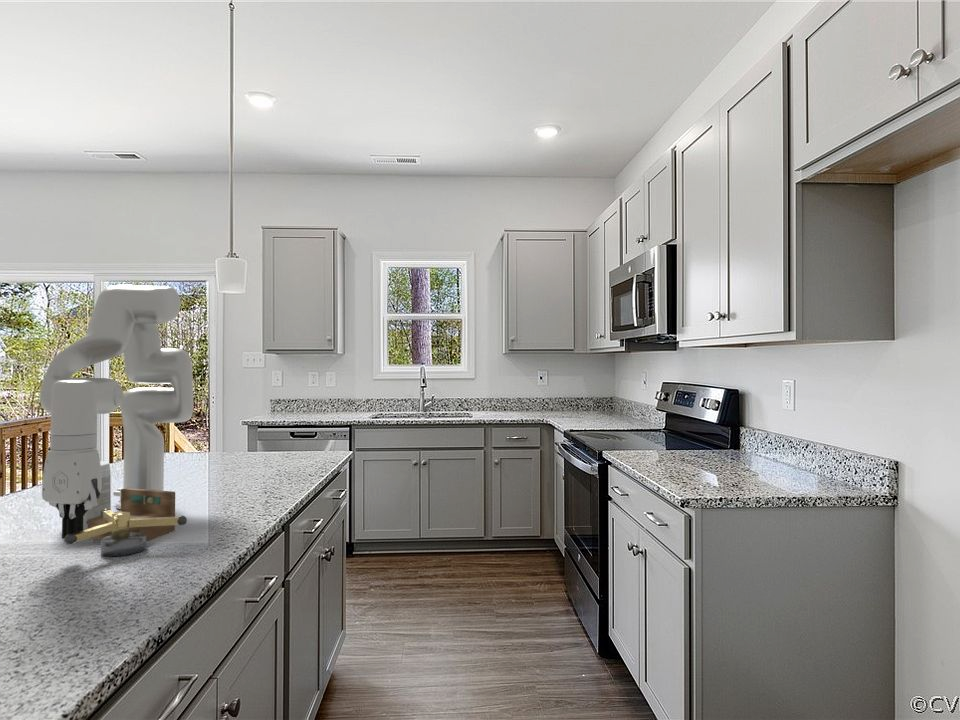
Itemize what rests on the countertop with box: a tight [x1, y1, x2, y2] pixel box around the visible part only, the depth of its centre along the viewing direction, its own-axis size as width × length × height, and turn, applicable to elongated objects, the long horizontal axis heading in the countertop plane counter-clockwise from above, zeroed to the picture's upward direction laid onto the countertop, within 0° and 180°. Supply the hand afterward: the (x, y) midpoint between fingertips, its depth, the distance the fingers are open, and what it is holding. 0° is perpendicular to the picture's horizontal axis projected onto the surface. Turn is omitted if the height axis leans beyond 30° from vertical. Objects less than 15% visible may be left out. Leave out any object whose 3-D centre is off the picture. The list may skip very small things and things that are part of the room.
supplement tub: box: [61, 460, 112, 530], centre depth 142 cm, size 10×10×15 cm
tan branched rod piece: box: [63, 509, 188, 557], centre depth 122 cm, size 22×19×7 cm
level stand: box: [88, 487, 176, 542], centre depth 136 cm, size 14×10×9 cm
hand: (72, 537), depth 118 cm, fingers closed
